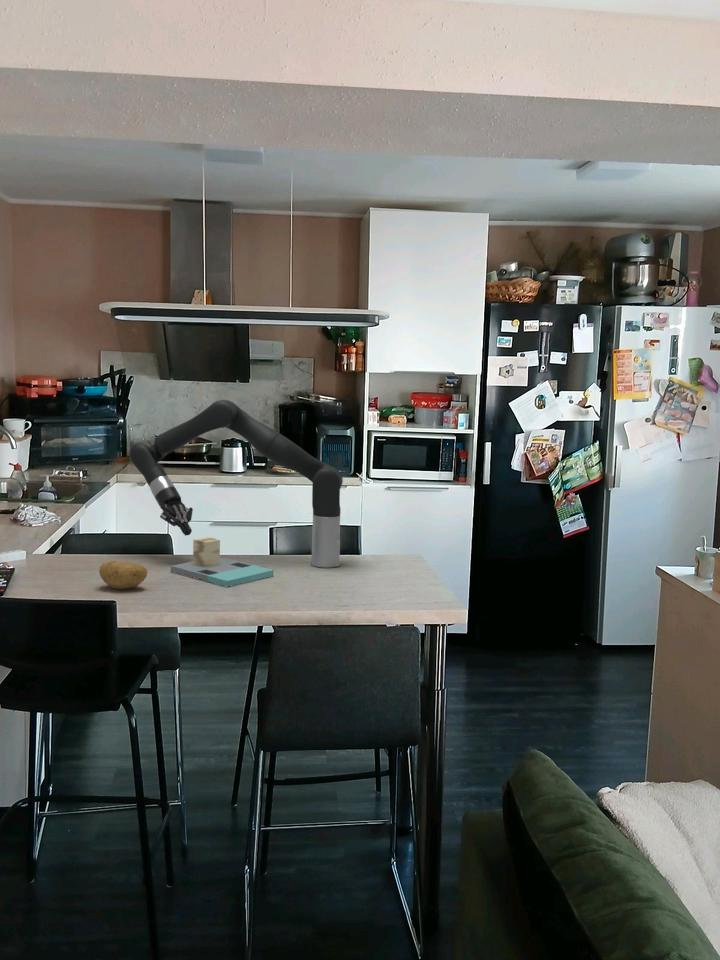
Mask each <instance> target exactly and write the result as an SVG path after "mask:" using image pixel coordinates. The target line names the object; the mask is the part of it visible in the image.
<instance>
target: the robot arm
mask: <svg viewBox="0 0 720 960" xmlns="http://www.w3.org/2000/svg"><path fill="white" fill-rule="evenodd" d="M224 428H226V429H229V430H230V431H233V432H234V433H236V434H238V435H239V436H241V437H243V438H244V439H245V440H246V441H248V443H249V444H250V445H251V446H252V447H253V448H254V449H255V450H256V451H257V452H258V453H260V454H261V455H262V456H264V457H265V458H267V459H268V460H270V461H271V462H273V463H274V464H277V465H279V466H281V467H283V468H286V469H288V470H291V471H294V472H296V473H298V474H300V475H302V476H303V477H305V478H306V479H308V480H309V481H310V482H311V483H312V485H311V486H312V488H311V489H312V491H311V492H312V494H311V498H312V500H311V501H312V502H311V504H312V530H311V531H312V532H311V533H312V534H311V536H312V537H311V566H313V567H318V568H335V567H340V555H341V553H340V551H341V538H340V533H341V532H340V531H341V529H340V528H341V501H340V499H341V498H340V497H341V487H342V486H343V481H344V480H343V475H342V474H341V472H340V471H339V470H338V469H337V468H336V467H334V466H331V465H329V464H328V463H326V462H324V461H321V460H319V459H318V458H316V457H314V456H312V455H311V454H310V453H308V452H307V451H305V450H304V449H303V448H302V447H300V446H299V445H297V444H296V443H294V441H291V440H290V439H289V438H288V437H286V436H284V435H283V434H281V433H280V432H278V431H276V430H274V429H273V428H272V427H269V426H268V425H266V424H265V423H262V422H260V421H259V420H256V419H255V418H253V416H251V415H249V413H247V412H245V410H243V409H242V408H241V407H239V406H238V405H236V403H234V402H232V401H231V400H228V399H219V400H216V401H213V403H211V404H210V405H209V406H207V407H206V408H205V409H204V410H203V411H201V412H200V413H199V414H197V415H196V416H194V417H192V418H191V419H189V420H187V421H185V422H183V423H181V424H179V425H177V426H174V427H172V428H170V429H168V430H166V431H164V432H162V433H160V434H159V435H157V436H156V437H155V438H154V441H153V443H152V444H151V445H148V444H145V443H143V442H135V443H133V444H132V445H131V446H130V448H129V451H128V454H129V458H130V460H131V462H132V464H133V465H134V467H135V468H136V469H137V470H138V471H139V473H140V474H141V475H142V476H143V477H144V479H145V481H146V483H147V485H148V486H149V489H150V492H151V493H152V495H153V497H154V498H155V501H156V502H157V504H158V506H159V508H160V509H161V510H162V512H161V514H160V516H159V518H160V519H162V520H163V521H165V522H166V523H168V524H170V525H171V526H173V527H178V528H179V529H180V530H181V533H182V534H183V535H184V536H186V537H187V536H190V535H191V533H192V531H193V530H192V528H191V526H190V524H189V523H190V522H191V521H192V519H193V518H192V516H193V510H194V508H193V507H186V505H185V504H184V503H183V502H182V496H181V495H180V493H179V492H178V490H177V488H176V487H175V485H174V483H173V482H172V480H171V478H170V477H169V476H168V474H167V473H166V471H165V469H164V467H163V466H162V465H160V464H159V462H160V461H162V460H163V459H164V458H165V457H166V456H167V455H168V454H170V453H172V452H174V451H177V450H178V449H180V448H182V447H184V446H185V445H187V444H188V443H190V442H191V441H193V440H195V439H196V438H198V437H200V436H202V435H203V434H206V433H208V432H211V431H214V430H217V429H224Z"/></svg>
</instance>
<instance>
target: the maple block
mask: <svg viewBox="0 0 720 960" xmlns="http://www.w3.org/2000/svg"><path fill="white" fill-rule="evenodd" d="M192 541H193V542H192V550H193V551H192V562H193V564H196V565H199V566H203V567H208V566H213V565H218V564H220V557H221V556H220V555H221V554H220V553H221V549H220V548H221V540H220V539H219V538H218V539H217V538H213V537H208V536H205V537H200V538H195V539H194V538H193V540H192Z"/></svg>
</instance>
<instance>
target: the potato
mask: <svg viewBox="0 0 720 960" xmlns="http://www.w3.org/2000/svg"><path fill="white" fill-rule="evenodd" d="M99 567H100V568H99V570H98V572H99V575H100V578H101V579H102V582H104V583H105V584H106V585H108V586H109V587H112V588H114V589H117V590H126V589H133V588H136V587H138V586H140V584H142V583H143V582H144V581H145V580H146V578H147V576H148V570H147V568H146V567H145V566H143V565H141V564H140V563H134V562H133V563H131V562H127V561H115V560H108V561H107V560H106V561H105V562H103V563H102V564H101V565H100V566H99Z"/></svg>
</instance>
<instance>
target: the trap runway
mask: <svg viewBox="0 0 720 960" xmlns="http://www.w3.org/2000/svg"><path fill="white" fill-rule="evenodd" d="M274 571H275V570H274V569H271V568H266V567H262V566H258V565H255V564H251V563H245V562H241V561H237V560H235V559H229V558H227V557H226V558H225V557H221V556H220V564H218V565H213V566H208V567H203V566H199V565H196V564H193V561H189V562H184V563H179V564H174V565H170V573H172V572H175V573H174V574H176V573H179V574H178V575H180V574H183V575H187V576H191V577H195V578H198V579H202V580H205V581H209V582H212V583H211V584H213V583H216V584H215V585H217V584H219V585H218V586H220V585H223V586H222V587H224V586H227V587H226V588H229V587H228V586H231V585H235V584H239V585H241V584H240V583H243V584H246V583H245V582H247V583H250V581H251V582H254V580H256V581H259V580H258V579H260V580H263V579H262V578H264V579H268V578H271V576H272V577H274V573H275V572H274ZM183 575H182V576H183ZM187 576H186V577H187ZM191 577H190V578H191ZM267 577H268V578H267ZM198 579H197V580H198ZM202 580H201V581H202ZM205 581H204V582H205ZM209 582H208V583H209ZM235 586H236V585H235ZM231 587H232V586H231Z"/></svg>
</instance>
